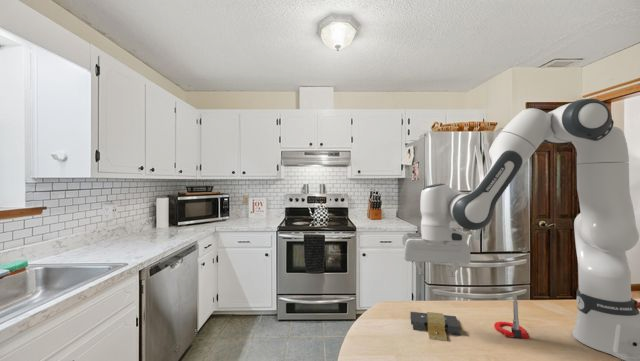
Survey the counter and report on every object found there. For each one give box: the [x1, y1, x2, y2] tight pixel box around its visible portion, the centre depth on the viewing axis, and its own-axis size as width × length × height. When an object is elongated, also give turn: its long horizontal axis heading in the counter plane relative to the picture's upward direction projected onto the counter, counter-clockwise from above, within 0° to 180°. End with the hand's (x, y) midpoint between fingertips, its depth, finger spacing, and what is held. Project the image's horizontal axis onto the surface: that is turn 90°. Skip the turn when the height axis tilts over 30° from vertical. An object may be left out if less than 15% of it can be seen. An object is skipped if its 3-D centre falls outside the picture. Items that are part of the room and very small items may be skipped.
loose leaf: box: [426, 311, 448, 342], centre depth 91 cm, size 5×8×5 cm, turn 164°
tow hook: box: [493, 294, 530, 339], centre depth 93 cm, size 8×13×9 cm
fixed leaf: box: [410, 311, 461, 336], centre depth 97 cm, size 15×10×3 cm
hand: (436, 275), depth 94 cm, fingers open, 8 cm apart
